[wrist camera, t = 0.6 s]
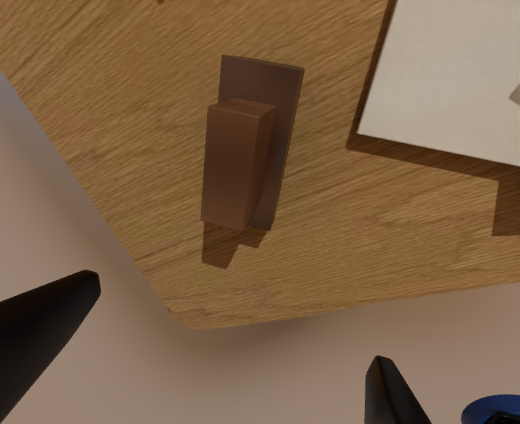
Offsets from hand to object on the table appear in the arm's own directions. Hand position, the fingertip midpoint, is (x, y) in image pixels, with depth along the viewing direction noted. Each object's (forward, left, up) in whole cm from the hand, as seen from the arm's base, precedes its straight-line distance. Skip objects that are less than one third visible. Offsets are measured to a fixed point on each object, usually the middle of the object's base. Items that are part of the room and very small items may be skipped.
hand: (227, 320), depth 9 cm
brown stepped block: (+2, +3, -14) cm, 14 cm away
